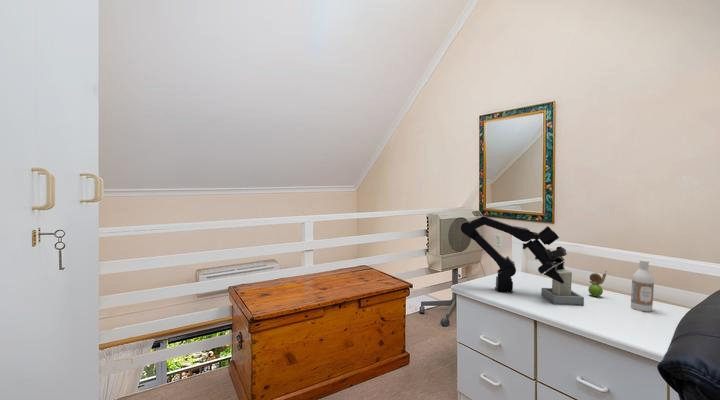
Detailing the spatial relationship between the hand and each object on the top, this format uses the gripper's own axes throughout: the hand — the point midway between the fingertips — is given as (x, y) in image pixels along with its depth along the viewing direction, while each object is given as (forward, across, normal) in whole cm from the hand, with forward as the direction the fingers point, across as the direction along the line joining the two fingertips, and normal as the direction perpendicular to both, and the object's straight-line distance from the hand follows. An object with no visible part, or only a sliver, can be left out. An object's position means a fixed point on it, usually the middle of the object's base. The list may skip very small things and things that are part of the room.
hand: (565, 281), depth 153 cm
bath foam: (+24, +13, -11) cm, 29 cm away
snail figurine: (+12, +18, 0) cm, 22 cm away
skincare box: (+5, 0, +7) cm, 8 cm away
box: (+5, 0, +7) cm, 9 cm away
